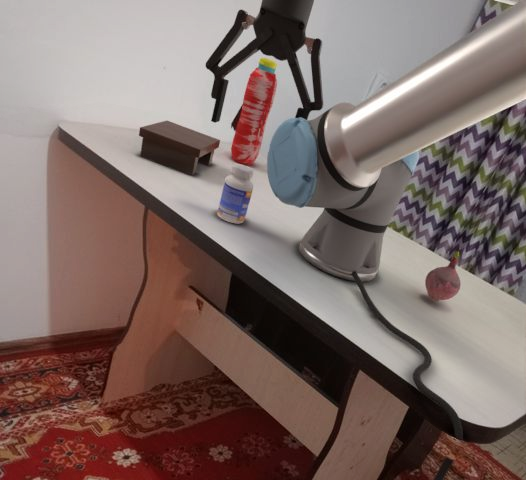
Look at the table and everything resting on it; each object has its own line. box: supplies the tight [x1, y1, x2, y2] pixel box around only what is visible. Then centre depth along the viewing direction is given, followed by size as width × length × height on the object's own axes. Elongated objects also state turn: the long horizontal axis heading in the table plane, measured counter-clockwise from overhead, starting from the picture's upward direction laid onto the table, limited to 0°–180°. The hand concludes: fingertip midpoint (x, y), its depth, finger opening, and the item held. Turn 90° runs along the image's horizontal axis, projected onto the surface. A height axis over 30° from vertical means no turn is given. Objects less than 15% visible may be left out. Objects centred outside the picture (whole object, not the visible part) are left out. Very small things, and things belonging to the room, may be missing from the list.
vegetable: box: [424, 251, 462, 302], centre depth 82 cm, size 6×6×10 cm
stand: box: [138, 120, 221, 176], centre depth 108 cm, size 16×14×6 cm
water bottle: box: [230, 57, 278, 166], centre depth 121 cm, size 12×8×25 cm, turn 39°
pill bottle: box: [216, 163, 255, 225], centre depth 86 cm, size 5×5×10 cm
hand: (251, 135), depth 80 cm, fingers open, 13 cm apart
